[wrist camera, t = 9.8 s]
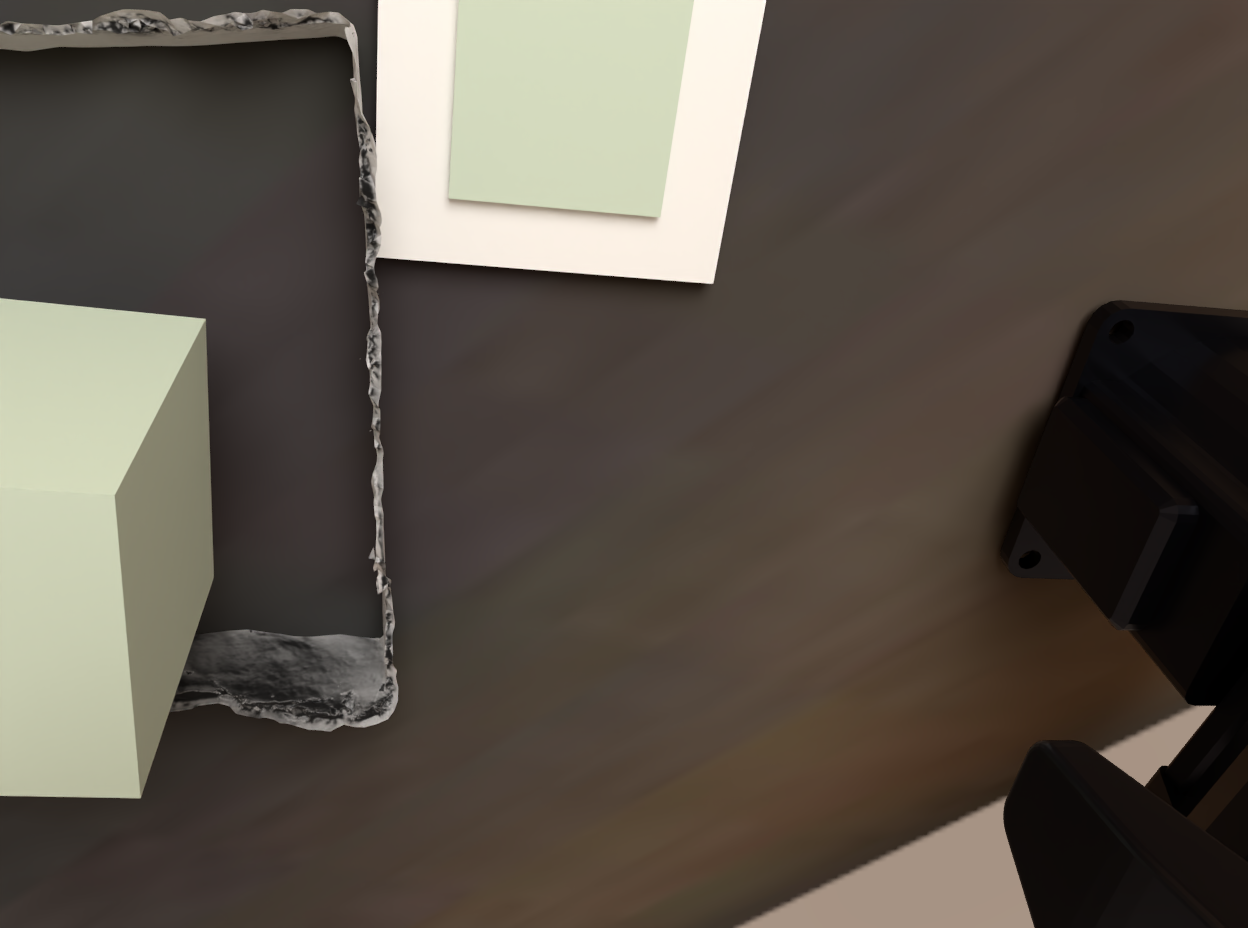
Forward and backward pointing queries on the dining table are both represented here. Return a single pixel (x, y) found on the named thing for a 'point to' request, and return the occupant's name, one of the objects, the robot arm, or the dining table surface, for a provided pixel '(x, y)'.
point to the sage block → (98, 540)
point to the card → (562, 132)
